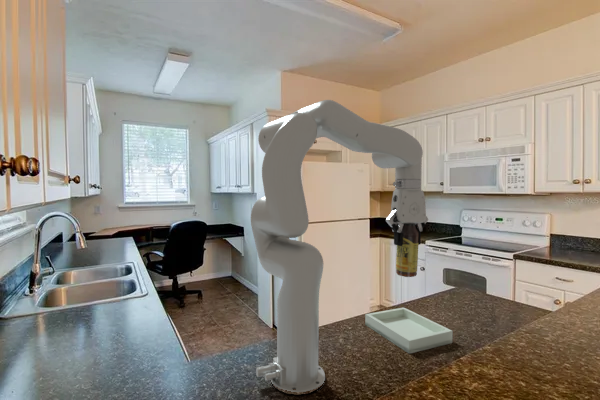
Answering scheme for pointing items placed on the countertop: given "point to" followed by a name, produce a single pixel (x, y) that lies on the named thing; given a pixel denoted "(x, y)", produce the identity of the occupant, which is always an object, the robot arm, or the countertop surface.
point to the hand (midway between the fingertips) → (407, 244)
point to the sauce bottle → (408, 252)
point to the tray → (408, 329)
